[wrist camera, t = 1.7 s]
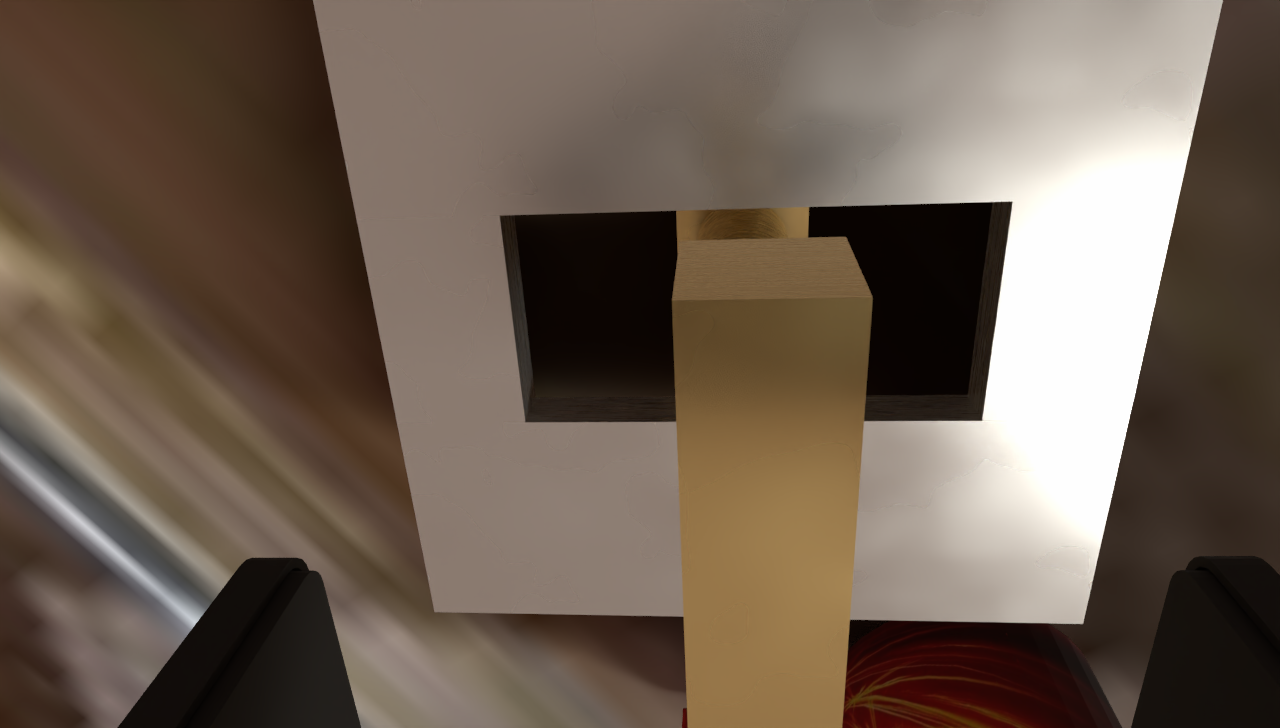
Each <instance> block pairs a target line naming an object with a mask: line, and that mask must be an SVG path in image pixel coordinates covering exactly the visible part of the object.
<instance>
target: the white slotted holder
mask: <svg viewBox="0 0 1280 728" xmlns="http://www.w3.org/2000/svg"><path fill="white" fill-rule="evenodd" d="M1222 2H1223V0H313V3H314V8H315V13H316V18H317V23H318V28H319V33H320V38H321V43H322V48H323V53H324V58H325V63H326V69H327V74H328V79H329V84H330V89H331V94H332V99H333V104H334V109H335V114H336V119H337V124H338V129H339V134H340V139H341V144H342V149H343V154H344V159H345V164H346V169H347V174H348V179H349V184H350V189H351V194H352V199H353V204H354V209H355V214H356V219H357V224H358V229H359V234H360V239H361V244H362V249H363V254H364V259H365V265H366V270H367V275H368V280H369V285H370V290H371V295H372V300H373V305H374V310H375V315H376V320H377V325H378V330H379V335H380V340H381V345H382V350H383V355H384V360H385V365H386V370H387V375H388V380H389V385H390V390H391V395H392V400H393V405H394V410H395V415H396V420H397V425H398V430H399V435H400V440H401V445H402V450H403V455H404V461H405V466H406V471H407V476H408V481H409V486H410V491H411V496H412V501H413V506H414V511H415V516H416V521H417V526H418V531H419V536H420V541H421V546H422V551H423V556H424V561H425V566H426V571H427V576H428V581H429V586H430V591H431V596H432V601H433V606H434V611H435V612H460V613H514V614H569V615H624V616H679V617H684V615H683V588H682V561H681V534H680V507H679V480H678V453H677V427H676V400H675V397H544V398H536V397H535V389H534V380H533V372H532V363H531V355H530V346H529V338H528V329H527V321H526V312H525V304H524V295H523V286H522V278H521V269H520V261H519V252H518V244H517V235H516V227H515V218H514V215H536V214H572V213H609V212H645V211H682V210H718V209H755V208H791V207H828V206H864V205H901V204H937V203H974V202H992V209H991V217H990V225H989V233H988V240H987V248H986V256H985V264H984V271H983V279H982V287H981V294H980V302H979V310H978V318H977V325H976V333H975V341H974V349H973V356H972V364H971V372H970V380H969V387H968V395H866V401H865V415H864V429H863V443H862V457H861V471H860V485H859V499H858V513H857V527H856V541H855V555H854V569H853V583H852V597H851V611H850V620H898V621H953V622H1008V623H1062V624H1083V622H1084V617H1085V613H1086V608H1087V604H1088V599H1089V595H1090V590H1091V586H1092V581H1093V577H1094V572H1095V568H1096V564H1097V559H1098V555H1099V550H1100V546H1101V541H1102V537H1103V532H1104V528H1105V523H1106V519H1107V515H1108V510H1109V506H1110V501H1111V497H1112V492H1113V488H1114V483H1115V479H1116V474H1117V470H1118V465H1119V461H1120V457H1121V452H1122V448H1123V443H1124V439H1125V434H1126V430H1127V425H1128V421H1129V416H1130V412H1131V407H1132V403H1133V399H1134V394H1135V390H1136V385H1137V381H1138V376H1139V372H1140V367H1141V363H1142V358H1143V354H1144V349H1145V345H1146V341H1147V336H1148V332H1149V327H1150V323H1151V318H1152V314H1153V309H1154V305H1155V300H1156V296H1157V291H1158V287H1159V283H1160V278H1161V274H1162V269H1163V265H1164V260H1165V256H1166V251H1167V247H1168V242H1169V238H1170V234H1171V229H1172V225H1173V220H1174V216H1175V211H1176V207H1177V202H1178V198H1179V193H1180V189H1181V184H1182V180H1183V176H1184V171H1185V167H1186V162H1187V158H1188V153H1189V149H1190V144H1191V140H1192V135H1193V131H1194V126H1195V122H1196V118H1197V113H1198V109H1199V104H1200V100H1201V95H1202V91H1203V86H1204V82H1205V77H1206V73H1207V68H1208V64H1209V60H1210V55H1211V51H1212V46H1213V42H1214V37H1215V33H1216V28H1217V24H1218V19H1219V15H1220V11H1221V6H1222Z"/></svg>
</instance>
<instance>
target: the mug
mask: <svg viewBox="0 0 1280 728" xmlns="http://www.w3.org/2000/svg"><path fill="white" fill-rule="evenodd" d="M682 728H688V722H687V708H686V709H685V708H683V721H682ZM842 728H1122V727H1121V725H1120V723H1119V721H1118V719H1117V717H1116V715H1115V713H1114V711H1113V709H1112V707H1111V706H1110V704H1109V702H1108V700H1107V698H1106V696H1105V694H1104V692H1103V690H1102V688H1101V686H1100V684H1099V682H1098V681H1097V679H1096V677H1095V675H1094V673H1093V671H1092V669H1091V667H1090V665H1089V664H1088V662H1087V660H1086V658H1085V656H1084V655H1083V653H1082V652H1081V651H1080V649H1079V648H1078V647H1077V646H1076V645H1075V644H1074V643H1073V642H1072V641H1071V640H1070V639H1069V638H1068V637H1067V636H1066V635H1064V634H1063V633H1061V632H1060V631H1058V630H1057V629H1055V628H1054V627H1052V626H1051V625H1049V624H1048V623H1008V622H953V621H898V620H892V621H890V622H887V623H885V624H883V625H881V626H880V627H878V628H876V629H875V630H873V631H871V632H870V633H868V634H866V635H865V636H863V637H862V638H861V639H860V640H858V641H857V642H856V643H855V644H854V645H853V646H852V647H850V648H849V649H848V653H847V667H846V682H845V696H844V710H843V724H842Z"/></svg>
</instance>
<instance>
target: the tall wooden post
mask: <svg viewBox="0 0 1280 728" xmlns="http://www.w3.org/2000/svg"><path fill="white" fill-rule="evenodd" d="M676 219H677V249H678V258H677V265H676V273H675V280H674V288H673V295H672V319H673V346H674V373H675V400H676V427H677V453H678V480H679V507H680V534H681V561H682V588H683V615H684V641H685V668H686V695H687V722H688V728H842V724H843V710H844V696H845V682H846V667H847V653H848V639H849V625H850V611H851V597H852V583H853V569H854V555H855V541H856V527H857V513H858V499H859V485H860V471H861V457H862V443H863V429H864V415H865V401H866V387H867V373H868V359H869V345H870V331H871V317H872V303H873V296H872V294H871V292H870V290H869V287H868V285H867V283H866V281H865V278H864V276H863V274H862V272H861V269H860V267H859V265H858V263H857V260H856V258H855V256H854V254H853V251H852V249H851V247H850V245H849V242H848V240H847V238H846V237H813V238H808V225H809V207H791V208H755V209H718V210H682V211H676Z"/></svg>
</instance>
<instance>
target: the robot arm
mask: <svg viewBox="0 0 1280 728" xmlns="http://www.w3.org/2000/svg"><path fill="white" fill-rule="evenodd" d="M118 728H361V725H360V722H359V718H358V714H357V710H356V706H355V702H354V698H353V695H352V691H351V687H350V683H349V679H348V675H347V672H346V668H345V664H344V660H343V656H342V652H341V649H340V645H339V641H338V637H337V633H336V629H335V626H334V622H333V618H332V614H331V610H330V606H329V603H328V599H327V595H326V591H325V587H324V583H323V580H322V577H321V575H320V574H319V573H318V572H317V571H309V569H308V567H307V564H306V563H305V562H304V561H303V560H302V559H299V558H250V559H248V560H246V561H245V562H244V563H243V564H241V565H240V567H239V568H238V569H237V571H236V572H235V573H234V575H233V576H232V577H231V578H230V580H229V581H228V582H227V584H226V585H225V586H224V588H223V589H222V590H221V592H220V593H219V594H218V596H217V597H216V598H215V600H214V601H213V602H212V604H211V605H210V606H209V608H208V609H207V610H206V612H205V613H204V614H203V615H202V617H201V618H200V619H199V621H198V622H197V623H196V625H195V626H194V627H193V629H192V630H191V631H190V633H189V634H188V635H187V637H186V638H185V639H184V641H183V642H182V643H181V645H180V646H179V647H178V649H177V650H176V651H175V652H174V654H173V655H172V656H171V658H170V659H169V660H168V662H167V663H166V664H165V666H164V667H163V668H162V670H161V671H160V672H159V674H158V675H157V676H156V678H155V679H154V680H153V682H152V683H151V684H150V686H149V687H148V688H147V690H146V691H145V692H144V693H143V695H142V696H141V697H140V699H139V700H138V701H137V703H136V704H135V705H134V707H133V708H132V709H131V711H130V712H129V713H128V715H127V716H126V717H125V719H124V720H123V721H122V723H121V724H120V725H119V727H118ZM1131 728H1280V575H1279V574H1278V573H1277V572H1276V571H1275V570H1274V569H1273V568H1272V567H1271V566H1270V565H1269V564H1268V563H1267V562H1265V561H1264V560H1263V559H1261V558H1258V557H1255V556H1200V557H1196V558H1193V559H1192V560H1191V561H1190V562H1189V564H1188V566H1187V568H1186V570H1181V571H1177V572H1176V573H1175V574H1174V575H1173V576H1172V579H1171V581H1170V584H1169V588H1168V592H1167V595H1166V599H1165V603H1164V607H1163V610H1162V614H1161V618H1160V622H1159V625H1158V629H1157V633H1156V637H1155V640H1154V644H1153V648H1152V652H1151V655H1150V659H1149V663H1148V667H1147V670H1146V674H1145V678H1144V682H1143V685H1142V689H1141V693H1140V696H1139V700H1138V704H1137V708H1136V711H1135V715H1134V719H1133V723H1132V726H1131Z"/></svg>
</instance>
